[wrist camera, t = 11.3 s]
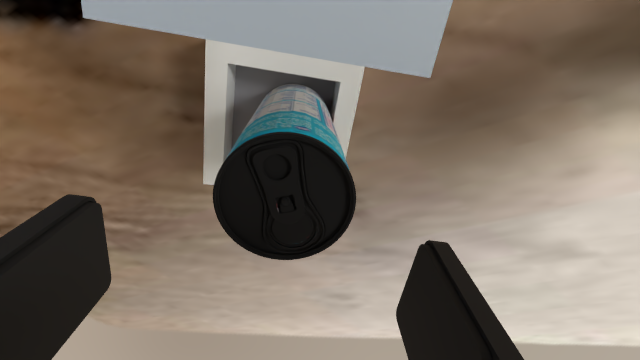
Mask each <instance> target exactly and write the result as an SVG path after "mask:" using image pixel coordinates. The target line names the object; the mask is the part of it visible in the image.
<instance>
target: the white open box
mask: <svg viewBox="0 0 640 360" xmlns="http://www.w3.org/2000/svg"><path fill="white" fill-rule="evenodd" d="M452 2H453V0H81V4H82V12H83V18H86V19H92V20H98V21H104V22H109V23H115V24H121V25H127V26H132V27H138V28H144V29H150V30H156V31H161V32H167V33H173V34H179V35H184V36H190V37H196V38H202V39H206V47H205V107H204V167H203V184H208V185H214V183H215V179H216V176H217V174H218V171H219V169H220V168H221V166H222V164H223V163H224V161H225V160H226V158H227V156H228V155H229V153H230V151H231V149H232V148H233V146H234V145H235V143H236V141H237V140H238V138H239V137H240V135H241V133H242V132H243V130H244V129H245V127H246V125H247V124H248V122H249V121H250V119H251V118H252V116H253V115H254V113H255V112H256V110H257V108H258V107H259V105H260V104H261V102H262V100H263V99H264V98H265V96H266V95H267V94H268V93H269V92H271V91H272V90H273V89H275V88H277V87H279V86H282V85H286V84H299V85H304V86H306V87H309V88H311V89H312V90H314V91H315V92H317V93H318V94H319V95H320V97H321V98H322V99H323V100H324V102H325V104H326V106H327V108H328V111H329V114H330V117H331V119H332V122H333V125H334V127H335V130H336V133H337V135H338V138H339V141H340V144H341V147H342V150H343V152H344V155H345V158H346V155H347V150H348V145H349V140H350V135H351V131H352V126H353V121H354V116H355V112H356V107H357V102H358V97H359V93H360V88H361V83H362V78H363V74H364V69H365V67H369V68H375V69H380V70H386V71H392V72H398V73H403V74H409V75H415V76H421V77H426V78H430V77H431V74H432V70H433V67H434V63H435V60H436V57H437V53H438V50H439V46H440V43H441V39H442V36H443V33H444V29H445V26H446V22H447V19H448V16H449V12H450V9H451V5H452Z"/></svg>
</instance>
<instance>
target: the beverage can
mask: <svg viewBox="0 0 640 360" xmlns="http://www.w3.org/2000/svg"><path fill="white" fill-rule="evenodd" d="M213 203H214V209H215V212H216V215H217V218H218V220H219V222H220V224H221V226H222V227H223V229H224V230H225V232H226V233H227V234H228V235H229V236H230V237H231V238H232V239H233V240H234V241H235V242H236V243H237V244H239V245H240V246H241V247H243V248H245V249H246V250H248V251H250V252H252V253H254V254H257V255H259V256H263V257H266V258H271V259H278V260H293V259H300V258H305V257H309V256H312V255H314V254H317V253H319V252H321V251H323V250H325V249H326V248H328V247H329V246H331V245H332V244H333V243H335V242H336V241H337V240H338V239H339V238H340V237H341V236H342V235H343V233H344V232H345V231H346V229H347V228H348V226H349V224H350V222H351V220H352V217H353V214H354V211H355V205H356V191H355V185H354V182H353V179H352V176H351V173H350V171H349V167H348V164H347V161H346V158H345V155H344V152H343V150H342V147H341V144H340V141H339V138H338V135H337V133H336V130H335V127H334V125H333V122H332V119H331V117H330V114H329V111H328V108H327V106H326V104H325V102H324V100H323V99H322V98H321V97H320V95H319V94H318V93H317V92H315V91H314V90H312V89H311V88H309V87H306V86H304V85H299V84H286V85H282V86H279V87H277V88H275V89H273V90H272V91H271V92H269V93H268V94H267V95H266V96H265V98H264V99H263V100H262V102H261V104H260V105H259V107H258V108H257V110H256V112H255V113H254V115H253V116H252V118H251V119H250V121H249V122H248V124H247V125H246V127H245V129H244V130H243V132H242V133H241V135H240V137H239V138H238V140H237V141H236V143H235V145H234V146H233V148H232V149H231V151H230V153H229V155H228V156H227V158H226V160H225V161H224V163H223V164H222V166H221V168H220V169H219V171H218V174H217V176H216V179H215V183H214V188H213Z"/></svg>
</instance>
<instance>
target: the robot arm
mask: <svg viewBox="0 0 640 360" xmlns="http://www.w3.org/2000/svg"><path fill="white" fill-rule="evenodd" d="M110 283H111V271H110V264H109V257H108V250H107V242H106V235H105V228H104V221H103V214H102V208H101V205H100V204H99V203H96V201H95V199H94V198H92V197H87V196H79V195H66V196H64V197H62V198H61V199H59V200H58V201H56V202H55V203H53V204H52V205H50V206H48V207H47V208H45V209H44V210H42V211H41V212H39V213H38V214H36V215H35V216H33V217H31V218H30V219H28V220H27V221H25V222H24V223H22V224H21V225H19V226H18V227H16V228H15V229H13V230H11V231H10V232H8V233H7V234H5V235H4V236H2V237H1V238H0V360H51V359H52V358H53V357H54V356H55V354H56V353H57V352H58V351H59V349H60V348H61V347H62V345H63V344H64V343H65V342H66V341H67V339H68V338H69V337H70V336H71V334H72V333H73V332H74V331H75V329H76V328H77V327H78V326H79V325H80V323H81V322H82V321H83V319H84V318H85V317H86V316H87V315H88V313H89V312H90V311H91V310H92V308H93V307H94V306H95V305H96V303H97V302H98V301H99V300H100V298H101V297H102V296H103V295H104V293H105V292H106V291H107V289H108V288H109V286H110ZM396 318H397V322H398V326H399V329H400V332H401V336H402V339H403V342H404V346H405V349H406V353H407V356H408V360H524V359H523V357H522V356H521V354H520V353H519V351H518V350H517V348H516V346H515V345H514V343H513V342H512V340H511V339H510V337H509V336H508V334H507V333H506V331H505V330H504V328H503V327H502V325H501V323H500V322H499V320H498V319H497V317H496V316H495V314H494V313H493V311H492V310H491V308H490V307H489V305H488V304H487V302H486V300H485V299H484V297H483V296H482V294H481V293H480V291H479V290H478V288H477V287H476V285H475V284H474V282H473V281H472V279H471V277H470V276H469V274H468V273H467V271H466V270H465V268H464V267H463V265H462V264H461V262H460V261H459V259H458V258H457V256H456V254H455V253H454V251H453V250H452V248H451V247H450V245H449V244H448V243H446V242H438V241H430V240H428V241H427V242H426V243H425V244H421V245H420V246H419V248H418V251H417V254H416V256H415V259H414V262H413V265H412V268H411V270H410V273H409V276H408V279H407V281H406V284H405V287H404V290H403V293H402V295H401V298H400V301H399V304H398V307H397V311H396Z"/></svg>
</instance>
